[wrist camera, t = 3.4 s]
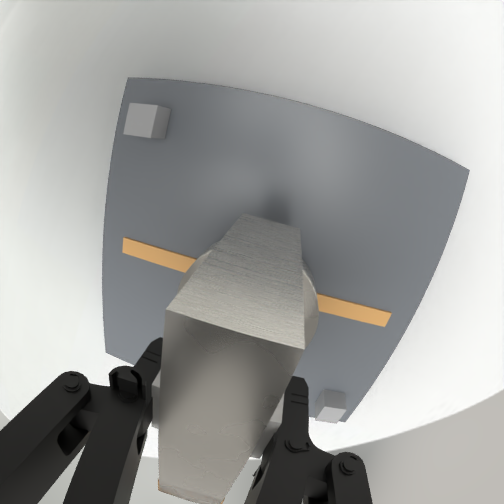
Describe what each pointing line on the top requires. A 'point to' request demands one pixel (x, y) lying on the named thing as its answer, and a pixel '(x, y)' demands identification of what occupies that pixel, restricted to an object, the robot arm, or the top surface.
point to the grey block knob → (230, 354)
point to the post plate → (274, 219)
